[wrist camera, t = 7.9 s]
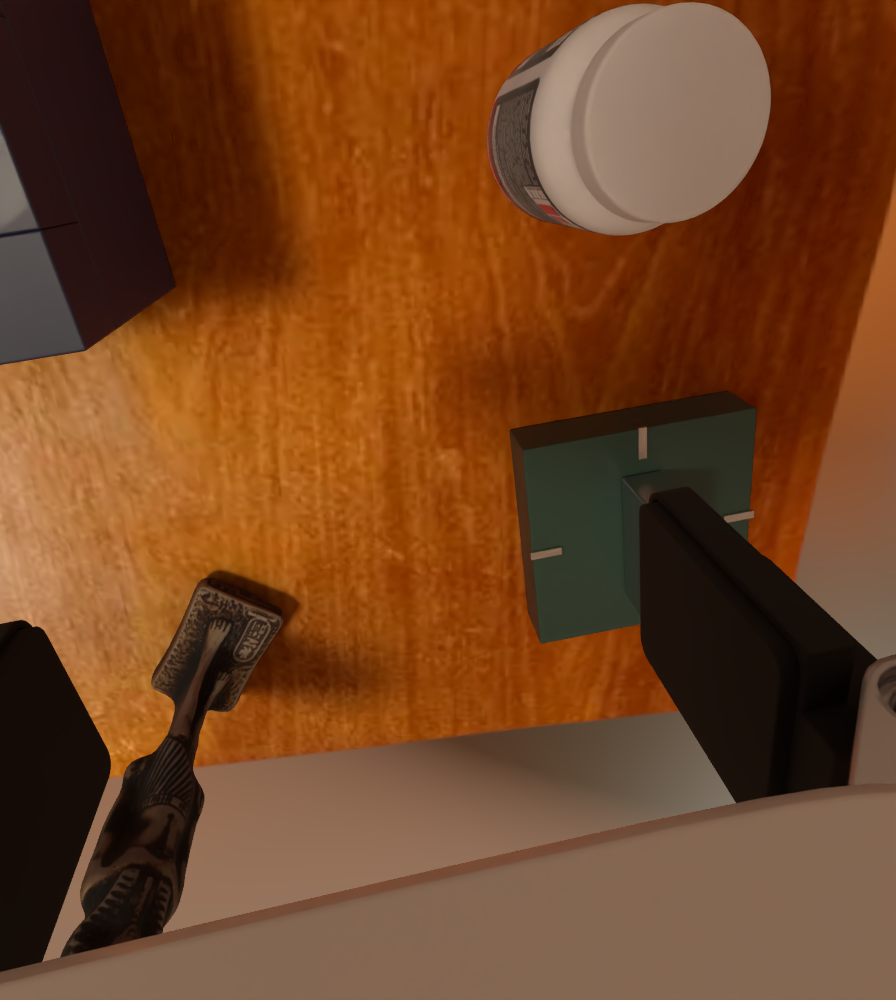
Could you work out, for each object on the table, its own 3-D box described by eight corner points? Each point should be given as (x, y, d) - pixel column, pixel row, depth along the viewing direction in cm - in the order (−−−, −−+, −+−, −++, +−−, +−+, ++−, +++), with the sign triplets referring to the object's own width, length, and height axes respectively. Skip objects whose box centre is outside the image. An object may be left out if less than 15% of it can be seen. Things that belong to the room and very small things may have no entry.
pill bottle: (584, 247, 27) (702, 286, 18) (457, 177, 25) (518, 182, 16) (663, 98, 25) (838, 60, 16) (532, 10, 23) (647, -85, 15)
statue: (290, 598, 32) (222, 1132, 14) (231, 705, 34) (110, 1282, 17) (203, 566, 31) (10, 1112, 13) (148, 680, 33) (-80, 1277, 15)
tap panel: (506, 427, 30) (520, 450, 28) (729, 387, 31) (762, 406, 28) (526, 615, 35) (539, 648, 32) (719, 577, 35) (747, 607, 33)
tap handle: (621, 477, 29) (668, 530, 25) (662, 469, 29) (716, 521, 25) (624, 594, 32) (668, 659, 27) (662, 586, 32) (711, 650, 27)
